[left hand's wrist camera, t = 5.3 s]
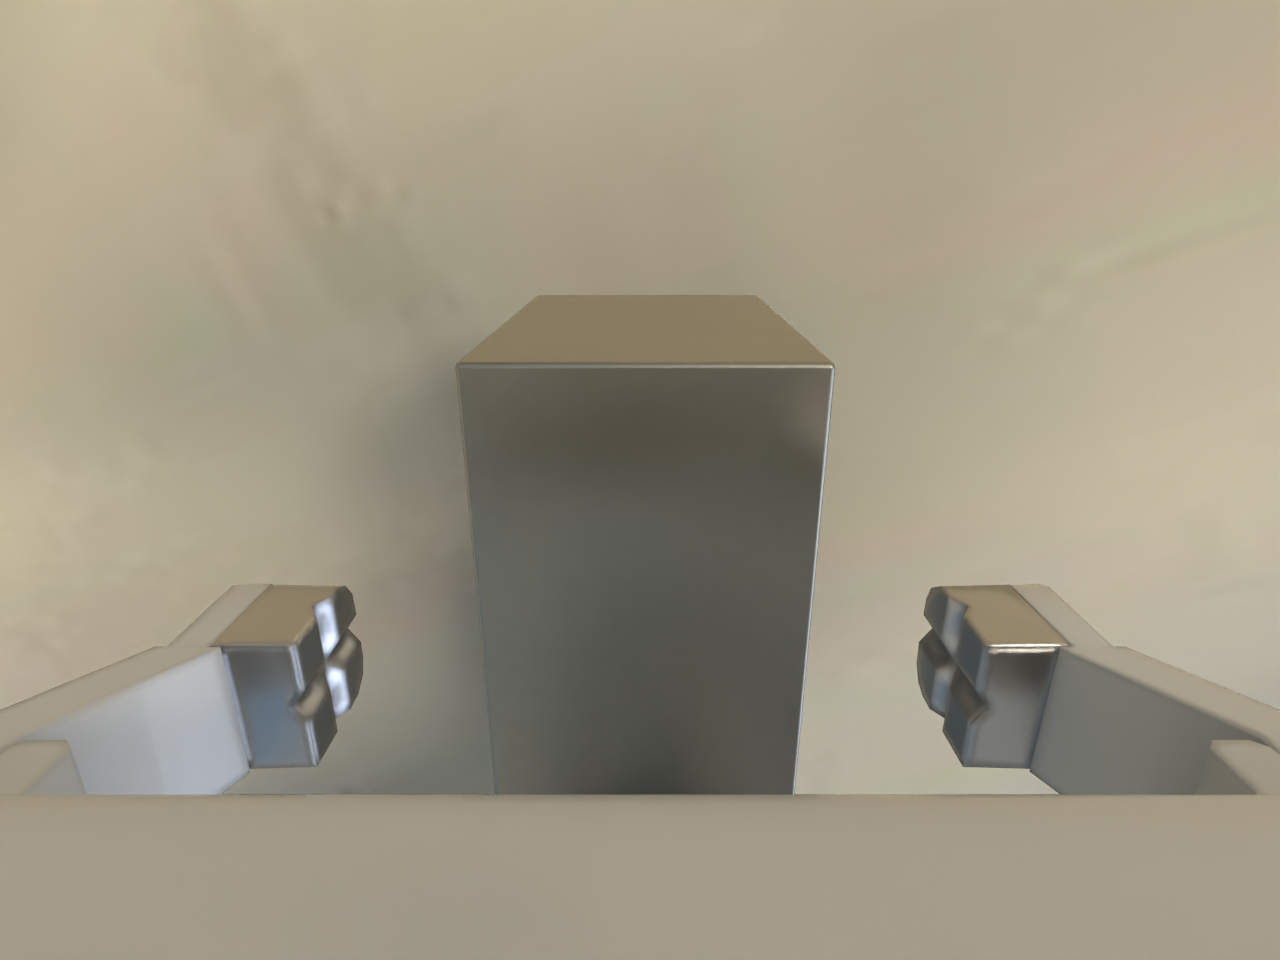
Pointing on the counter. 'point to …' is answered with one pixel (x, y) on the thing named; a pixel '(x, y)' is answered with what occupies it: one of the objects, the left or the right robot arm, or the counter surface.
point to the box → (645, 541)
